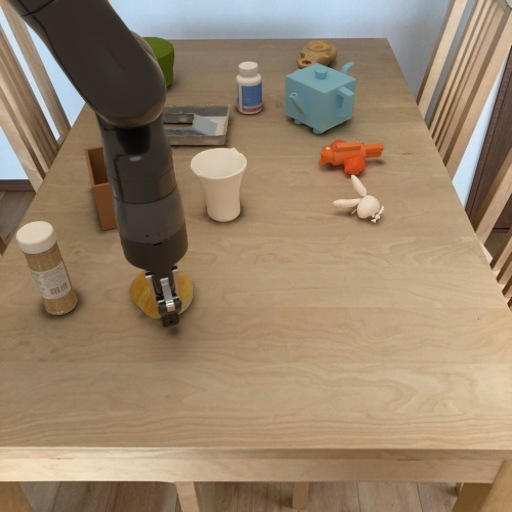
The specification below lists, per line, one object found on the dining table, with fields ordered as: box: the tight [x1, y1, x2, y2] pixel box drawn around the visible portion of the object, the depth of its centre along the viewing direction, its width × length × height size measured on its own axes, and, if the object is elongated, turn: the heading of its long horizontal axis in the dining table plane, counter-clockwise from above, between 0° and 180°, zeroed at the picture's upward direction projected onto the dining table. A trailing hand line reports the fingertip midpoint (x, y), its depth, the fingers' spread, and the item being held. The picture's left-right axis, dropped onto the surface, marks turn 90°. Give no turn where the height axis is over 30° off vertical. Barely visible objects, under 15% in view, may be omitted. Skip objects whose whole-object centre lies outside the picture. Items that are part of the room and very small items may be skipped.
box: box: [83, 145, 118, 231], centre depth 93 cm, size 12×12×8 cm
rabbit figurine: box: [332, 174, 385, 224], centre depth 91 cm, size 6×4×8 cm
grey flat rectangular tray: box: [162, 103, 231, 146], centre depth 113 cm, size 13×25×3 cm, turn 89°
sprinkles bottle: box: [15, 220, 79, 316], centre depth 73 cm, size 5×5×13 cm
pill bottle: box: [235, 61, 263, 115], centre depth 117 cm, size 6×5×10 cm
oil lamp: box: [296, 39, 338, 69], centre depth 134 cm, size 11×14×5 cm
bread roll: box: [129, 269, 194, 319], centre depth 77 cm, size 8×9×4 cm
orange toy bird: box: [317, 138, 385, 176], centre depth 101 cm, size 5×8×12 cm
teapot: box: [284, 61, 358, 135], centre depth 112 cm, size 16×18×11 cm
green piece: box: [141, 36, 176, 88], centre depth 126 cm, size 12×12×11 cm
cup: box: [190, 147, 248, 223], centre depth 90 cm, size 9×9×10 cm
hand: (170, 322), depth 73 cm, fingers closed
